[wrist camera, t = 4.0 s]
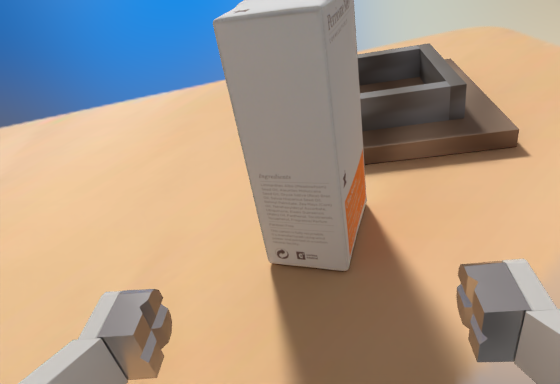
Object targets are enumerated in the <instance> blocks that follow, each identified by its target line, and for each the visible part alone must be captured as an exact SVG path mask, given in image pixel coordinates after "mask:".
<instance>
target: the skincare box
mask: <svg viewBox="0 0 560 384" xmlns="http://www.w3.org/2000/svg"><path fill="white" fill-rule="evenodd" d="M213 27H214V31H215V35H216V40H217V44H218V49H219V53H220V58H221V62H222V66H223V70H224V75H225V79H226V83H227V87H228V91H229V95H230V99H231V103H232V108H233V112H234V116H235V121H236V125H237V129H238V134H239V138H240V142H241V146H242V150H243V154H244V159H245V163H246V167H247V171H248V175H249V180H250V184H251V188H252V192H253V197H254V201H255V206H256V210H257V214H258V219H259V223H260V227H261V231H262V235H263V240H264V244H265V248H266V252H267V256H268V260H269V262H270V263H275V264H283V265H292V266H302V267H313V268H321V269H330V270H338V271H347V270H348V269H349V266H350V260H351V256H352V252H353V248H354V244H355V240H356V236H357V232H358V228H359V225H360V222H361V218H362V215H363V212H364V208H365V205H366V201H367V199H366V184H365V167H364V151H363V136H362V120H361V103H360V88H359V73H358V57H357V43H356V28H355V12H354V0H244V1H242V2H241V3H239V4H238V5H237V6H236V7H235V8H234V9H233V10H231V11H229V12H227V13H226V14H224V15H222V16H220V17H218V18H216V19H215V20H214V21H213Z"/></svg>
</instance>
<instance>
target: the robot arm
mask: <svg viewBox="0 0 560 384" xmlns="http://www.w3.org/2000/svg"><path fill="white" fill-rule="evenodd" d="M458 277H459V279H460V282H461V284H460V285H459V286H458V287H457V306H458V311H459V315H460V318H461V321H462V323H463V325H465V326H466V327H467V328H468V329H469V337H468V340H469V342H470V345H471V347H472V350H473V353H474V355H475V358H476V360H477V362H514V363H515V364H516V365H517V366H518V367H519V368H520V369H521V370H522V371H523V372H524V373H525V374H526V375H528V376H529V377H530V378H531V379H532V380H533V381H534V382H535V383H536V384H560V309H557V308H556V306H555V304H554V303H553V301H552V299H551V298H550V296H549V295H548V293H547V292H546V290H545V288H544V287H543V285H542V284H541V282H540V281H539V279H538V277H537V276H536V274H535V273H534V271H533V269H532V268H531V266H530V265H529V263H528V262H527V261H526V260H525V259H514V260H503V261H492V262H481V263H470V264H460V267H459V271H458ZM162 299H163V297H162V295H161V293H160V291H159V290H157V289H146V290H127V291H115V292H106V293H104V294H103V295H102V296H101V298H100V300H99V301H98V303H97V305H96V307H95V309H94V311H93V312H92V314H91V316H90V318H89V320H88V322H87V323H86V325H85V327H84V329H83V331H82V333H81V334H80V336H79V338H78V340H72V341H71V342H70V343H68V344H67V345H66V346H65V347H63V348H62V349H61V350H60V351H58V352H57V353H56V354H55V355H53V356H52V357H51V358H50V359H48V360H47V361H46V362H45V363H43V364H42V365H41V366H40V367H38V368H37V369H36V370H35V371H33V372H32V373H31V374H30V375H28V376H27V377H26V378H25V379H23V380H22V381H21V382H20V383H18V384H127V382H128V381H127V380H136V379H148V378H157V376H158V373H159V370H160V367H161V364H162V361H163V358H164V355H163V352H162V350H161V349H162V348H163V347H164V346H165V345H166V344H167V343H168V342H169V340H170V336H171V333H172V319H171V314H170V312H169V310H168V308H166V307H165V306H163V305H162V304H161V302H162Z"/></svg>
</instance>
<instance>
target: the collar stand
mask: <svg viewBox="0 0 560 384" xmlns="http://www.w3.org/2000/svg"><path fill="white" fill-rule="evenodd" d="M357 57H358V73H359V88H360V103H361V120H362V136H363V151H364V164H373V163H381V162H389V161H398V160H406V159H415V158H423V157H432V156H440V155H449V154H457V153H465V152H474V151H482V150H491V149H499V148H508V147H516V146H517V140H518V133H519V129H518V128H517V127H516V126H515V125H514V124H513V123H512V122H511V120H510V119H509V118H508V117H507V116H506V115H505V114H504V113H503V112H502V111H501V110H500V109H499V108H498V107H497V106H496V105H495V104H494V103H493V102H492V101H491V100H490V99H489V98H488V97H487V96H486V95H485V94H484V93H483V92H482V91H481V90H480V89H479V87H478V86H477V85H476V84H475V83H474V82H473V81H472V80H471V79H470V78H469V77H468V76H467V75H466V74H465V73H464V72H463V71H462V70H461V69H460V68H459V67H458V66H457V65H456V64H455V63H454V62H453V61H452V60H451V59H445V60H444V59H443V58H442V57H441V55H440V54H439V53H438V52H437V51H436V50H435V49H434V48H433V47H432V46H431V45H430V44H423V45H417V46H410V47H404V48H397V49H391V50H384V51H378V52H371V53H365V54H358V55H357Z"/></svg>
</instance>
